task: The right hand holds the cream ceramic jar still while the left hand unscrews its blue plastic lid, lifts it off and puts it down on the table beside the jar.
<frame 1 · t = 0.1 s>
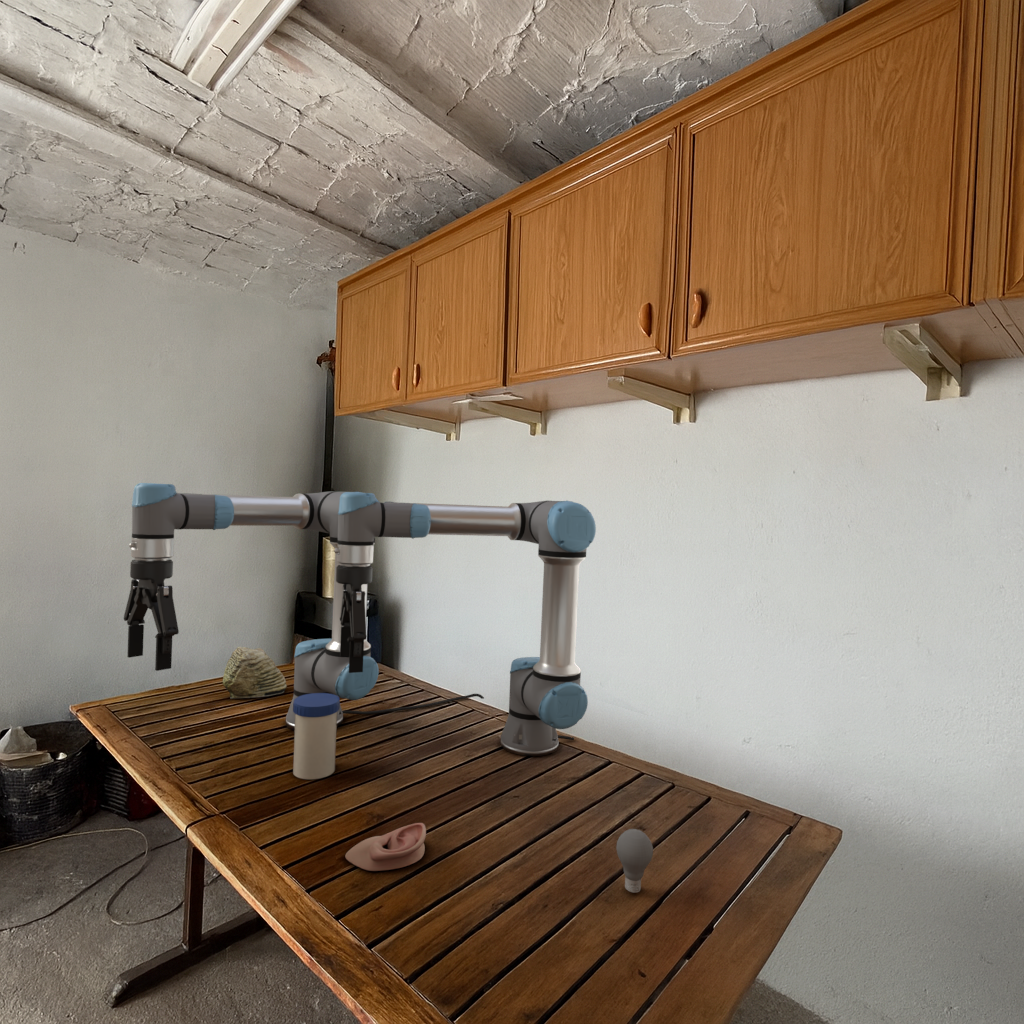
left hand: (148, 662, 129), 28 cm above the table, tool pointing down, fingers open, 13 cm apart
right hand: (350, 663, 135), 28 cm above the table, tool pointing down, fingers open, 13 cm apart
fossil: (254, 694, 198), on the table
anatomical model: (386, 854, 113), on the table
light bulb: (632, 891, 106), on the table
lid: (316, 701, 146), point 16 cm above the table, screwed on, not yet turned
jar: (314, 770, 146), on the table
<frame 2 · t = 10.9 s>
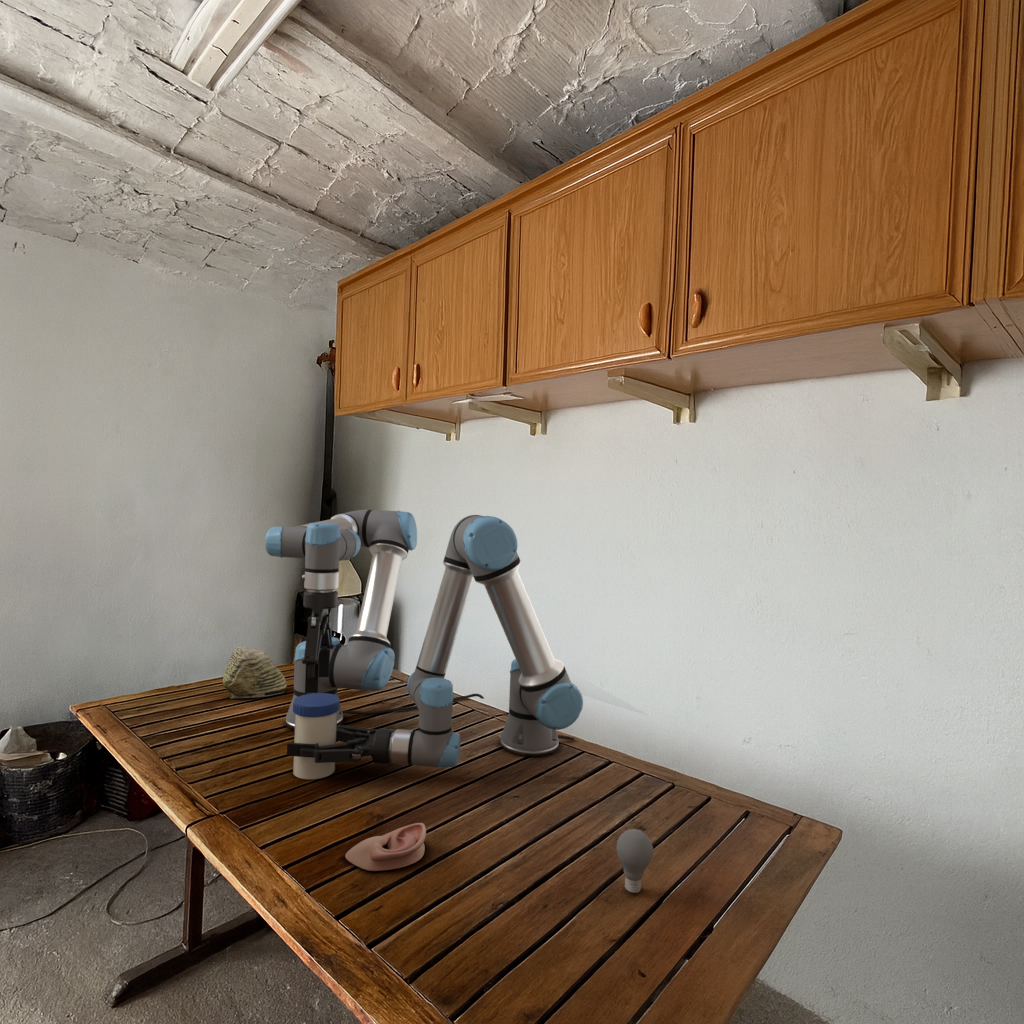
left hand: (317, 684, 146), 20 cm above the table, tool pointing down, fingers open, 11 cm apart
right hand: (296, 740, 146), 7 cm above the table, tool horizontal, fingers closed on jar, 9 cm apart
jar: (314, 770, 146), on the table, touching right hand
everything else where it was.
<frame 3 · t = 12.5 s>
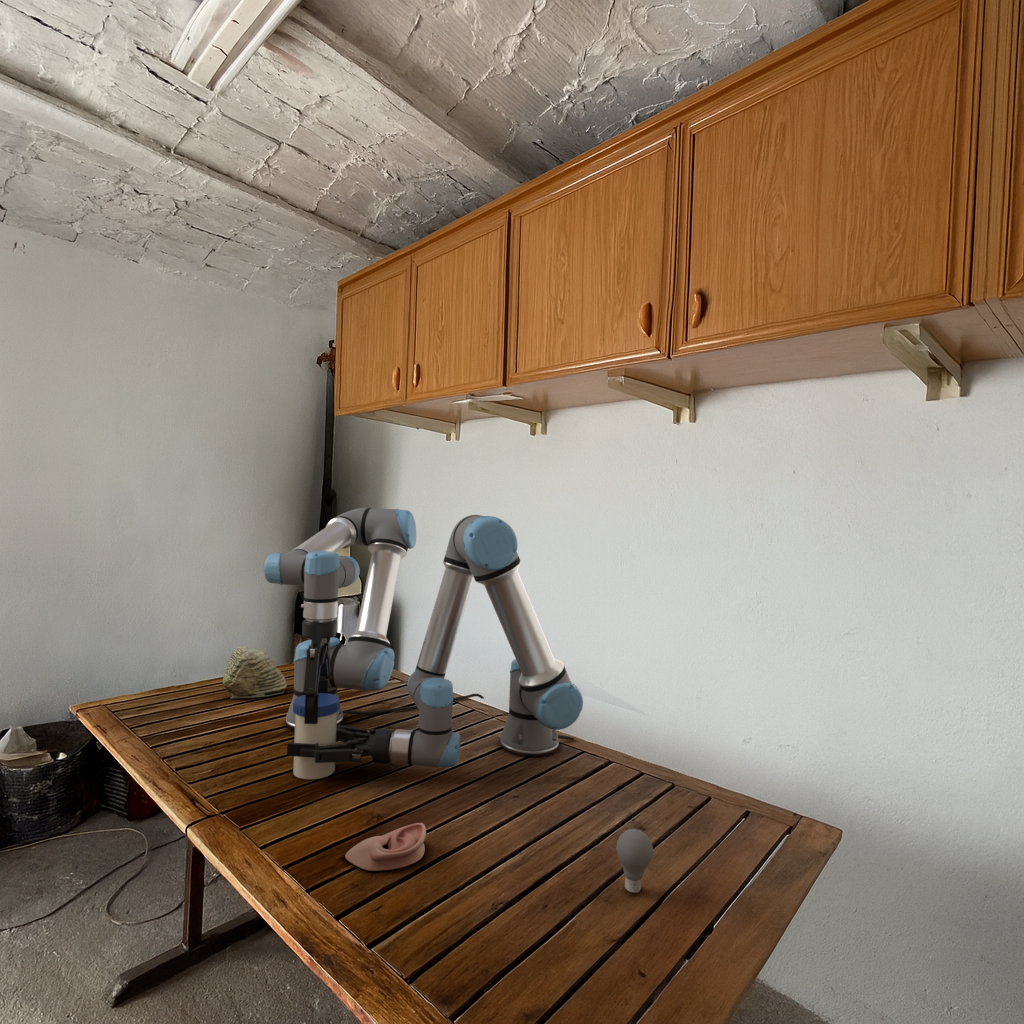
left hand: (316, 715, 146), 13 cm above the table, tool pointing down, fingers closed on lid, 10 cm apart
right hand: (296, 740, 146), 7 cm above the table, tool horizontal, fingers closed on jar, 9 cm apart
lid: (316, 701, 146), point 16 cm above the table, screwed on, not yet turned, touching left hand
jar: (314, 770, 146), on the table, touching right hand
everything else where it was.
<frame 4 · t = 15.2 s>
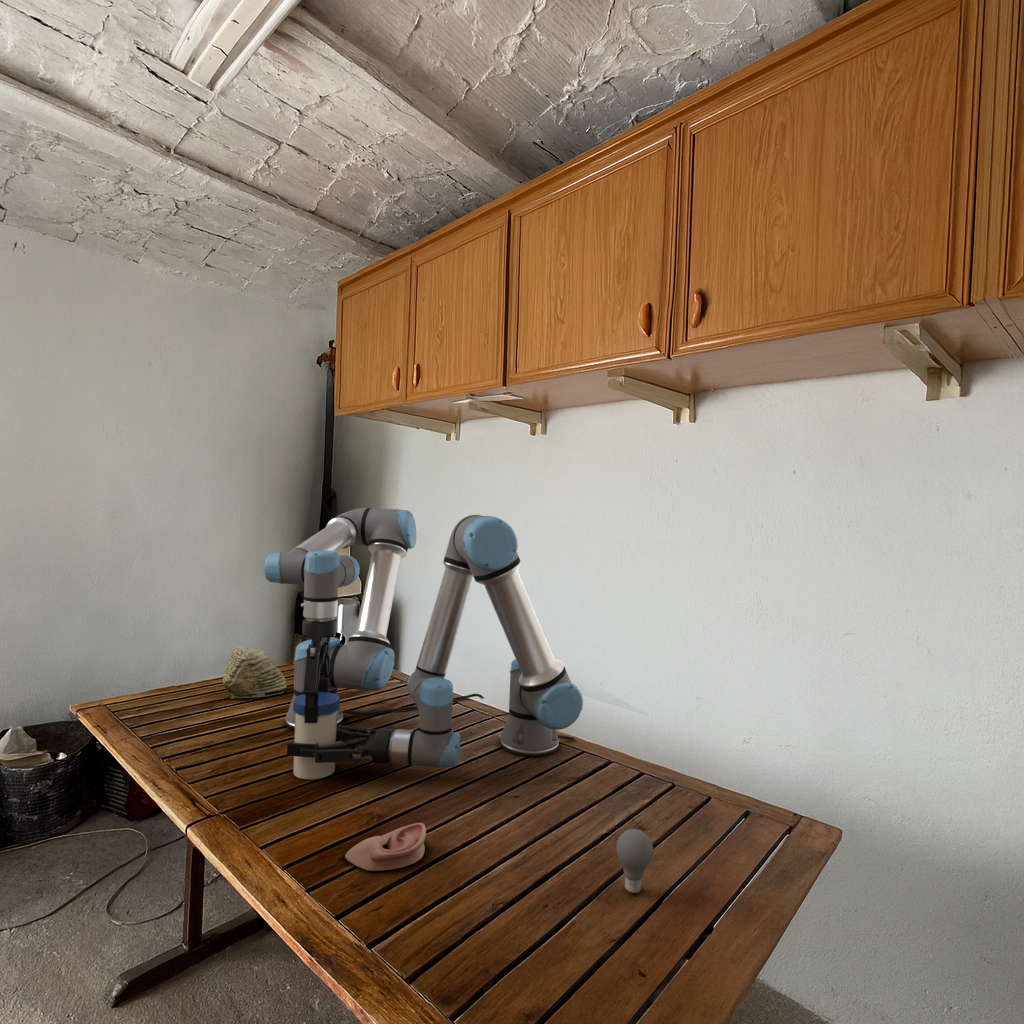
left hand: (316, 714, 146), 13 cm above the table, tool pointing down, fingers closed on lid, 10 cm apart
right hand: (296, 740, 146), 7 cm above the table, tool horizontal, fingers closed on jar, 9 cm apart
lid: (316, 700, 146), point 16 cm above the table, turned 73° so far, risen 0.2 cm, still on its thread, touching left hand
jar: (314, 770, 146), on the table, touching right hand
everything else where it was.
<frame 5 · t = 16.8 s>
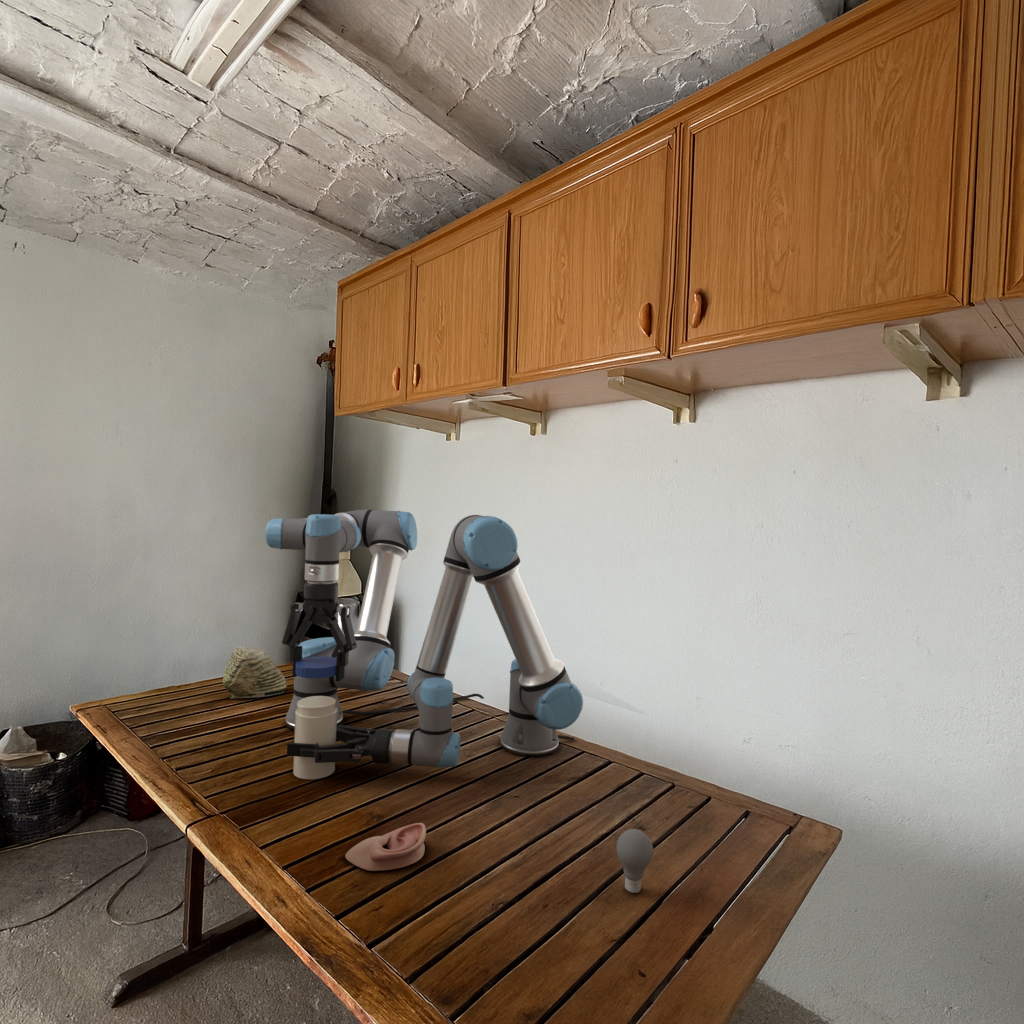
left hand: (318, 677, 146), 22 cm above the table, tool pointing down, fingers closed on lid, 10 cm apart
right hand: (296, 740, 146), 7 cm above the table, tool horizontal, fingers closed on jar, 9 cm apart
lid: (318, 663, 146), point 25 cm above the table, off its thread, touching left hand
jar: (314, 770, 146), on the table, touching right hand
everything else where it was.
when the left hand's fingers open (0 cm above the table, at t = 22.0 s): lid drops 1 cm, point 2 cm above the table.
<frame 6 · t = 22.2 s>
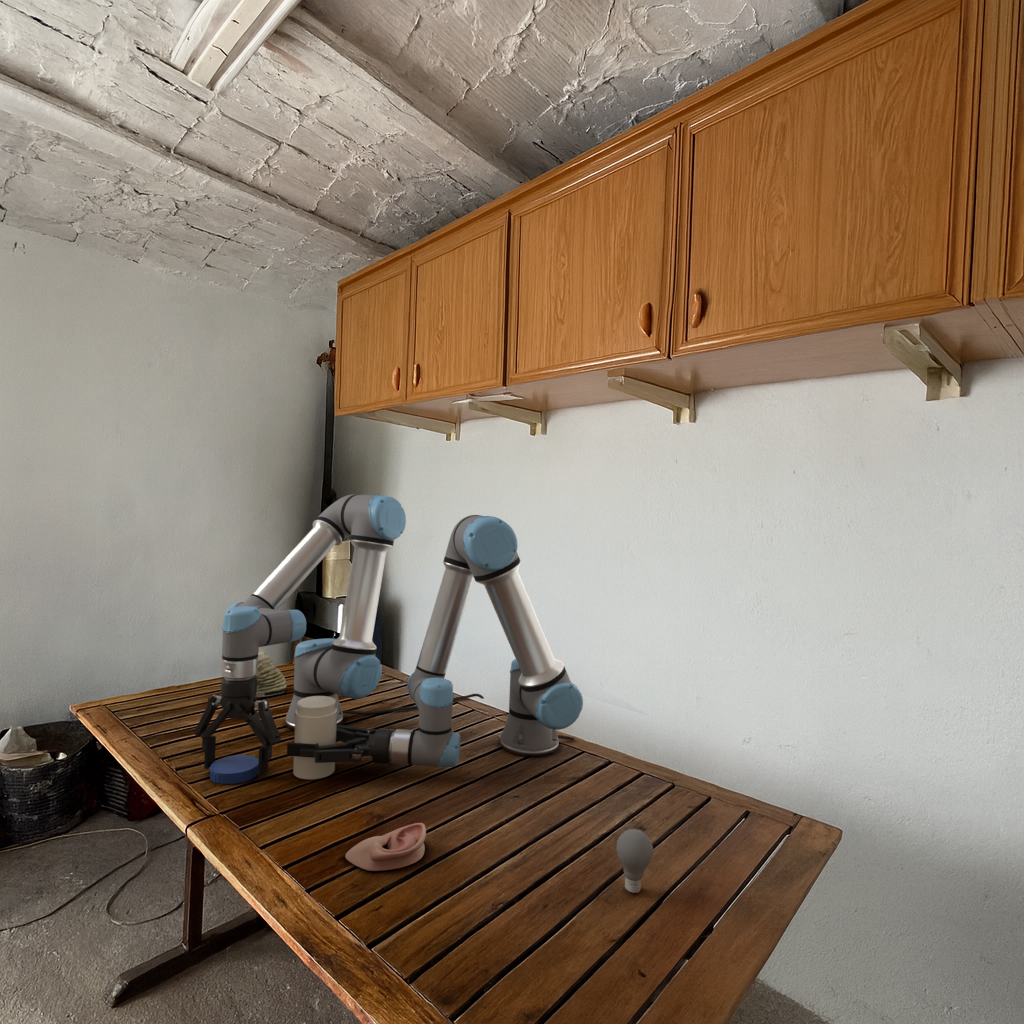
left hand: (236, 770, 143), 1 cm above the table, tool pointing down, fingers open, 13 cm apart
right hand: (296, 740, 146), 7 cm above the table, tool horizontal, fingers closed on jar, 9 cm apart
lid: (235, 765, 143), point 2 cm above the table, off its thread
jar: (314, 770, 146), on the table, touching right hand
everything else where it was.
when the right hand's fingers open (7 cm above the table, at t = 23.0 s): jar stays where it is, on the table.
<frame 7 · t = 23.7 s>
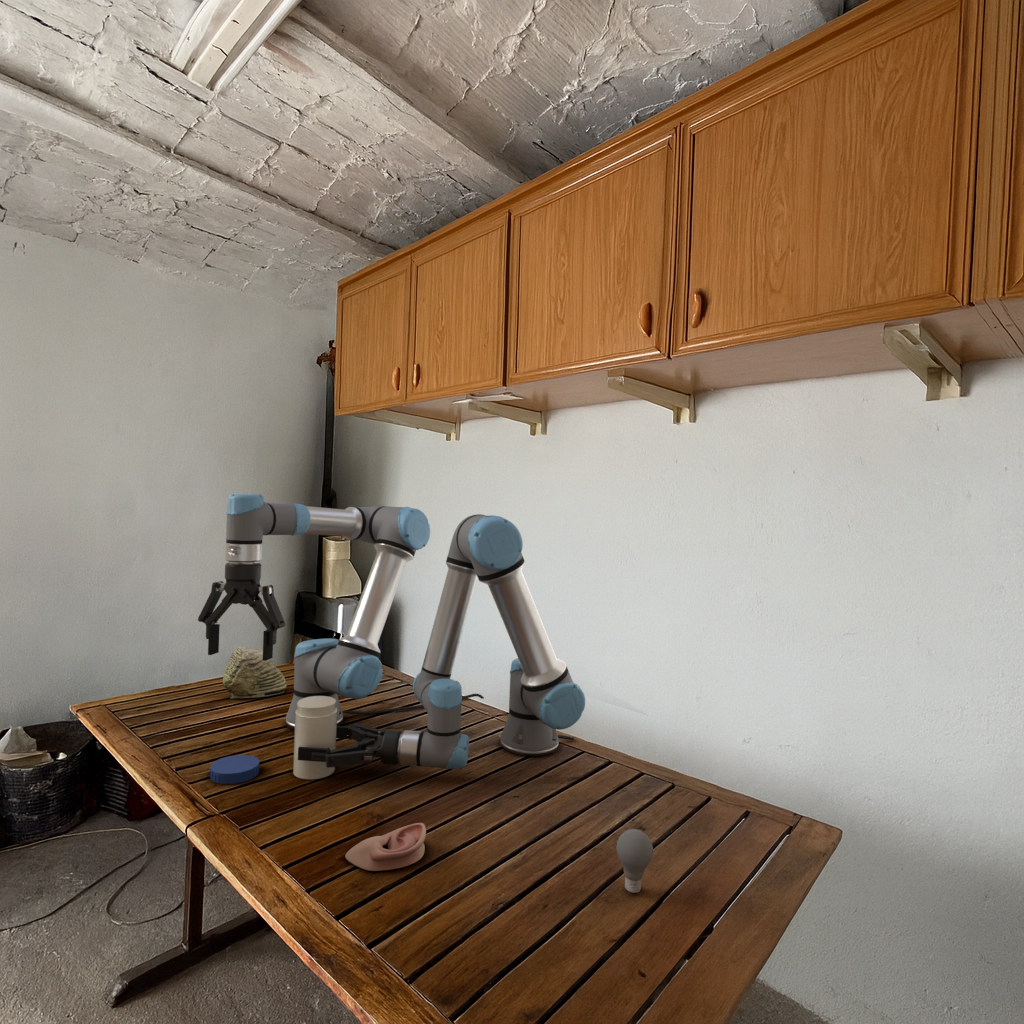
left hand: (240, 656, 142), 27 cm above the table, tool pointing down, fingers open, 13 cm apart
right hand: (309, 741, 146), 7 cm above the table, tool horizontal, fingers open, 13 cm apart
jar: (314, 770, 146), on the table
everything else where it was.
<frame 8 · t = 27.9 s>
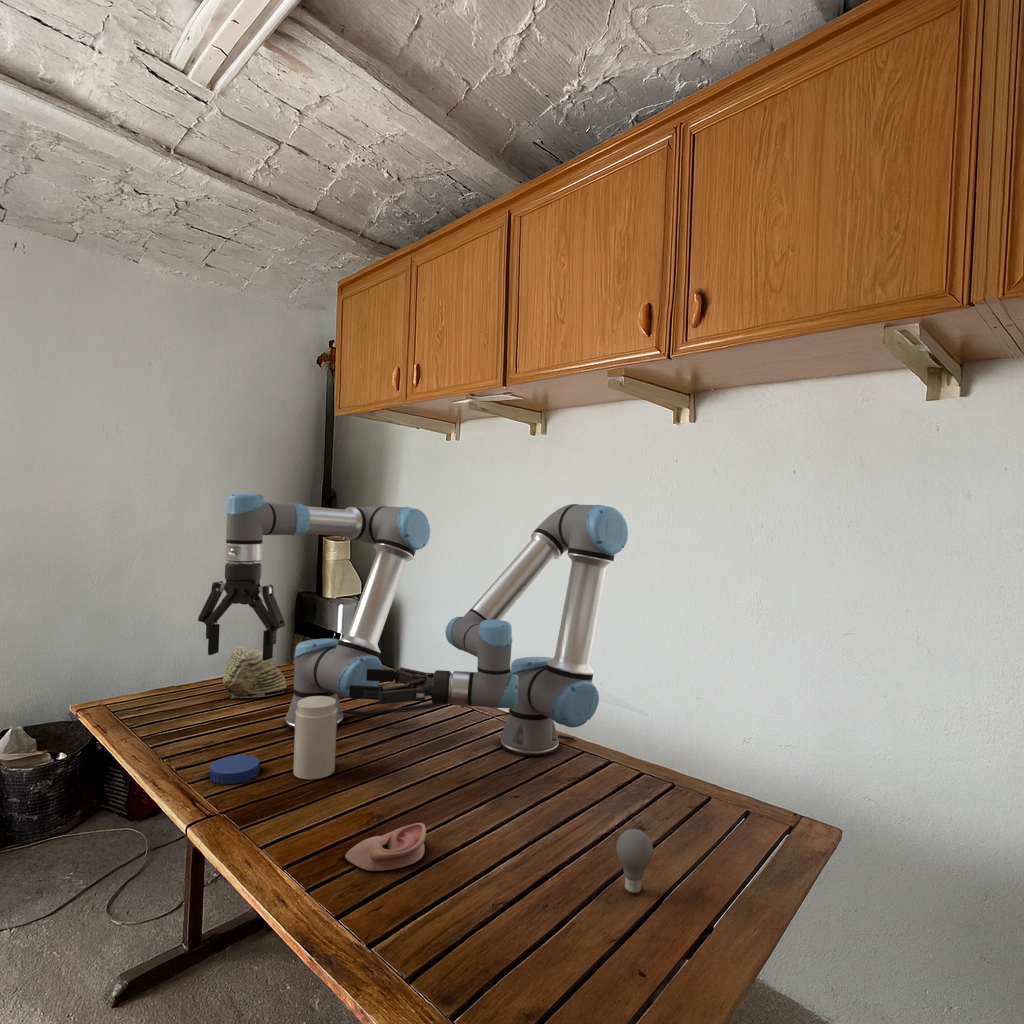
left hand: (240, 656, 142), 27 cm above the table, tool pointing down, fingers open, 13 cm apart
right hand: (358, 682, 145), 21 cm above the table, tool horizontal, fingers open, 13 cm apart
nothing on the table moved.
at the end: lid came off its thread; lid point 2.0 cm above the table; the left hand is holding nothing; the right hand is holding nothing; jar tilted 0°; jar moved 0.0 cm from its start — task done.
